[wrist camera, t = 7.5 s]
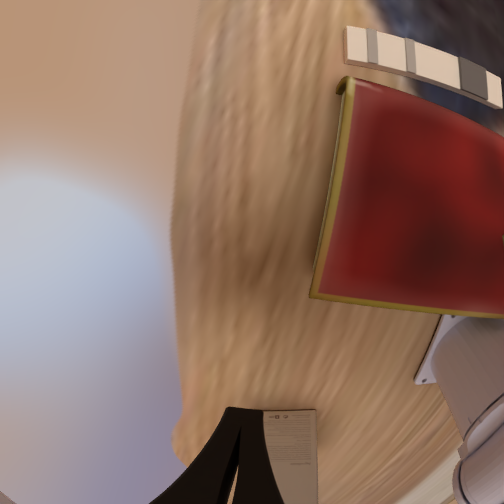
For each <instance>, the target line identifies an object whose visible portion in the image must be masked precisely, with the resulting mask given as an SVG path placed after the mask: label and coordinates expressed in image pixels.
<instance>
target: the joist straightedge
mask: <svg viewBox="0 0 504 504" xmlns="http://www.w3.org/2000/svg"><path fill="white" fill-rule="evenodd" d="M344 64H350V65H356V66H361V67H367V68H372V69H377V70H381V71H386V72H390V73H394V74H398V75H402V76H406V77H409V78H413V79H417V80H420V81H423V82H427V83H430V84H433V85H436V86H439V87H442V88H445V89H448V90H450V91H453V92H456V93H458V94H461V95H464V96H466V97H469V98H471V99H473V100H476V101H478V102H480V103H483V104H485V105H487V106H489V107H492V108H494V109H500V108H502V90H501V79H500V78H499V77H497V76H495V75H493V74H492V73H490V72H488V71H486V69H485V68H483V67H481V66H479V65H477V64H475V63H473V62H471V61H469V60H466V59H464V58H462V57H455V56H453V55H450V54H448V53H445V52H443V51H440V50H437V49H435V48H432V47H429V46H426V45H423V44H420V43H417V42H414V40H412V39H408V38H405V39H404V38H400V37H397V36H393V35H389V34H385V33H381V32H377V30H374V29H369V28H367V29H363V28H358V27H352V26H346V28H345V30H344Z"/></svg>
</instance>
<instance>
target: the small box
mask: <svg viewBox="0 0 504 504" xmlns="http://www.w3.org/2000/svg"><path fill="white" fill-rule="evenodd" d="M263 412H264V416H263V423H264V434H265V441H266V446H267V451H268V455H269V460H270V464H271V467H272V471H273V474H274V477H275V480H276V483H277V486H278V489H279V491H280V494H281V496H282V499H283V501H284V503H285V504H318V462H317V422H316V410H302V411H263Z"/></svg>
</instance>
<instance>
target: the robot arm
mask: <svg viewBox="0 0 504 504" xmlns="http://www.w3.org/2000/svg"><path fill="white" fill-rule="evenodd" d="M414 382H415V384H417V385H419V384H428V383H438V385H439V387H440V389H441V391H442V393H443V395H444V398H445V400H446V402H447V404H448V406H449V409H450V411H451V413H452V415H453V418H454V420H455V422H456V425H457V427H458V429H459V432H460V434H461V437H462V439H463V442H464V443H463V444H462V445H461V446H460V447H459V448H458V453H459V455H460V458H461V460H460V461H459V462H458V463H457V465H456V467H455V469H454V473H453V479H452V484H453V492H454V496H455V499H456V501H457V503H458V504H504V319H494V318H481V317H468V316H457V315H446V314H442V317H441V320H440V322H439V325H438V327H437V330H436V332H435V335H434V337H433V340H432V342H431V344H430V347H429V349H428V351H427V354H426V356H425V358H424V360H423V362H422V364H421V367H420V369H419V371H418V373H417V375H416V377H415V379H414ZM263 416H264V412H263V411H261V410H254V409H245V408H236V407H227V408H226V409H225V412H224V414H223V416H222V418H221V420H220V422H219V424H218V426H217V428H216V429H215V431H214V433H213V434H212V436H211V437H210V439H209V440H208V442H207V443H206V445H205V446H204V448H203V449H202V451H201V452H200V453H199V454H198V456H197V457H196V458H195V459H194V461H193V462H192V463H191V464H190V466H189V467H188V468H187V469H186V470H185V471H184V472H183V474H182V475H181V476H180V477H179V478H178V479H177V480H176V481H175V482H174V483H173V484H172V485H171V486H169V487H168V488H167V489H166V490H165V491H164V492H163V493H162V494H160V495H159V496H158V497H157V498H155V499H154V500H153V501H152V502H150V503H149V504H227V502H228V498H229V495H230V491H231V488H232V485H233V481H234V478H235V474H236V471H237V467H238V475H237V482H236V487H235V492H234V497H233V502H232V504H285V503H284V501H283V499H282V496H281V494H280V491H279V489H278V486H277V483H276V480H275V477H274V474H273V471H272V467H271V464H270V460H269V455H268V451H267V446H266V441H265V434H264V423H263ZM0 504H16V503H15V502H13V501H12V500H10V499H9V498H8V497H7V496H6V495H4V494H3V493H2V492H1V491H0Z"/></svg>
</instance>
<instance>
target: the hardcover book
mask: <svg viewBox="0 0 504 504" xmlns="http://www.w3.org/2000/svg"><path fill="white" fill-rule="evenodd" d="M336 94H339V95H342V101H341V110H340V117H339V125H338V132H337V139H336V146H335V152H334V159H333V165H332V171H331V177H330V183H329V188H328V194H327V199H326V205H325V210H324V215H323V220H322V226H321V231H320V235H319V240H318V245H317V250H316V254H315V259H314V264H313V271H314V274H313V279H312V283H311V287H310V291H309V298H313V299H320V300H327V301H334V302H342V303H349V304H357V305H364V306H372V307H381V308H389V309H398V310H407V311H416V312H425V313H435V314H446V315H457V316H468V317H481V318H494V319H504V137H502V136H500V135H499V134H497V133H495V132H493V131H491V130H490V129H488V128H486V127H484V126H482V125H480V124H478V123H476V122H474V121H472V120H470V119H468V118H466V117H464V116H462V115H460V114H458V113H456V112H453V111H451V110H449V109H446V108H444V107H442V106H439V105H437V104H435V103H432V102H430V101H427V100H424V99H422V98H419V97H416V96H414V95H411V94H408V93H405V92H402V91H399V90H396V89H393V88H390V87H387V86H383V85H380V84H377V83H373V82H369V81H366V80H362V79H358V78H354V77H350V76H345V77H344V78H343V79H341V81H340V82H339V84H338V86H337V88H336Z"/></svg>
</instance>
